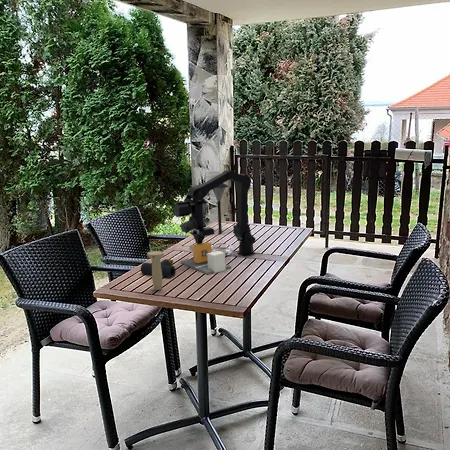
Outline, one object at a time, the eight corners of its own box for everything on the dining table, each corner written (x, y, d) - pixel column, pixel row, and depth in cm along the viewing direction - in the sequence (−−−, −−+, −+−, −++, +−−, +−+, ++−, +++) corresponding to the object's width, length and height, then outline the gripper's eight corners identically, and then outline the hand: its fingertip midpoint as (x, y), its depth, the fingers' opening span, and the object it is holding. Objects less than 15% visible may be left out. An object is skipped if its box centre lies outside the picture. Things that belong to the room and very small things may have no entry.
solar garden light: (206, 233, 267) (204, 183, 261) (225, 230, 272) (223, 181, 266) (214, 237, 257) (212, 185, 250) (234, 234, 261) (232, 183, 255)
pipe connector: (155, 256, 205) (183, 259, 199) (156, 267, 207) (184, 271, 200) (140, 264, 195) (168, 268, 189) (141, 275, 197) (169, 279, 190)
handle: (152, 286, 181) (150, 251, 178) (167, 287, 180) (165, 251, 177) (148, 290, 177) (145, 254, 173) (163, 291, 175) (161, 254, 172)
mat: (203, 257, 218) (203, 255, 218) (231, 268, 200) (231, 265, 200) (181, 263, 210) (180, 261, 210) (207, 274, 193) (207, 272, 193)
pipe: (193, 249, 214) (192, 245, 214) (218, 259, 198) (218, 254, 197) (189, 250, 213) (188, 246, 213) (214, 260, 197) (214, 255, 196)
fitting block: (219, 267, 202) (218, 250, 200) (225, 270, 198) (224, 252, 196) (208, 270, 199) (207, 253, 197) (214, 273, 195) (213, 255, 193)
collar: (208, 258, 210) (207, 241, 208) (211, 259, 208) (211, 243, 206) (193, 261, 205) (193, 245, 204) (197, 263, 203) (196, 246, 201)
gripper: (171, 213, 207) (173, 246, 210) (193, 219, 192) (195, 254, 196) (192, 210, 213) (193, 242, 217) (214, 216, 198) (215, 249, 202)
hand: (199, 247), depth 208 cm, fingers closed
